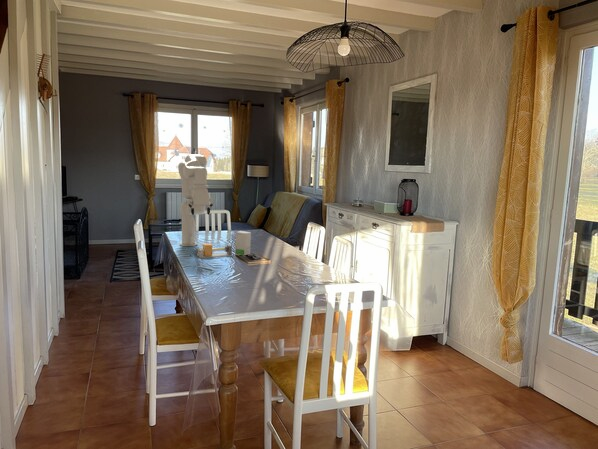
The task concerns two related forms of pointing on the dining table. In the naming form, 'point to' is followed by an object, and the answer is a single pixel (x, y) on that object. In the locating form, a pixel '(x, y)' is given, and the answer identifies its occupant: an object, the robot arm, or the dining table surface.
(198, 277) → the dining table surface
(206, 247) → the sleeve
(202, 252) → the rail
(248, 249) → the skincare box
